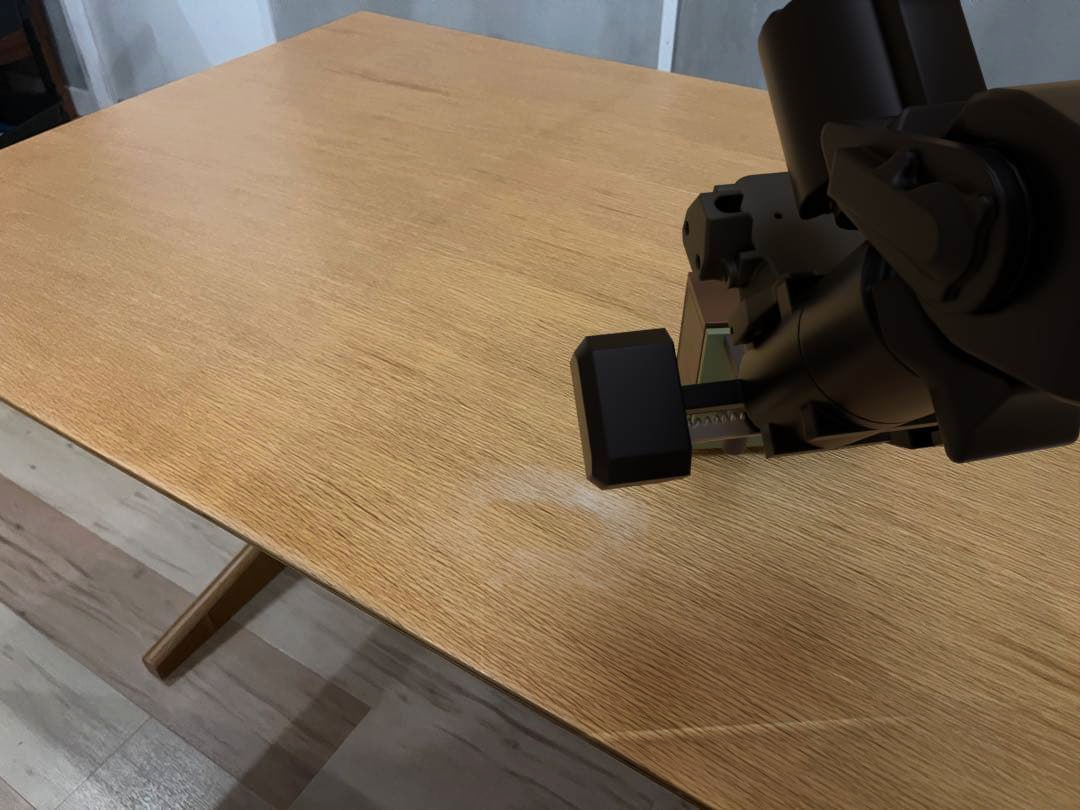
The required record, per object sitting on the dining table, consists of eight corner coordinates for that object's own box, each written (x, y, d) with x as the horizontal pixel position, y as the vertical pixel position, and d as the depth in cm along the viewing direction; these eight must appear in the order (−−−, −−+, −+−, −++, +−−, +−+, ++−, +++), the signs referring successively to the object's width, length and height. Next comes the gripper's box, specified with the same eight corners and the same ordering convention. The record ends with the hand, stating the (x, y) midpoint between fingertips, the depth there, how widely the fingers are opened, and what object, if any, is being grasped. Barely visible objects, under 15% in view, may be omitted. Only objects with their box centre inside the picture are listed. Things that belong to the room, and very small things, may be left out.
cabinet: (871, 440, 61) (918, 314, 53) (685, 448, 61) (705, 323, 53) (844, 387, 66) (884, 263, 58) (671, 394, 65) (687, 271, 57)
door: (805, 500, 56) (842, 383, 49) (703, 505, 56) (726, 388, 49) (781, 439, 60) (812, 323, 53) (687, 443, 60) (705, 328, 53)
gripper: (1075, 102, 30) (873, 262, 45) (573, 145, 28) (539, 297, 43) (1161, 397, 28) (919, 461, 43) (623, 465, 26) (569, 507, 41)
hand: (737, 425), depth 43 cm, fingers open, 9 cm apart
